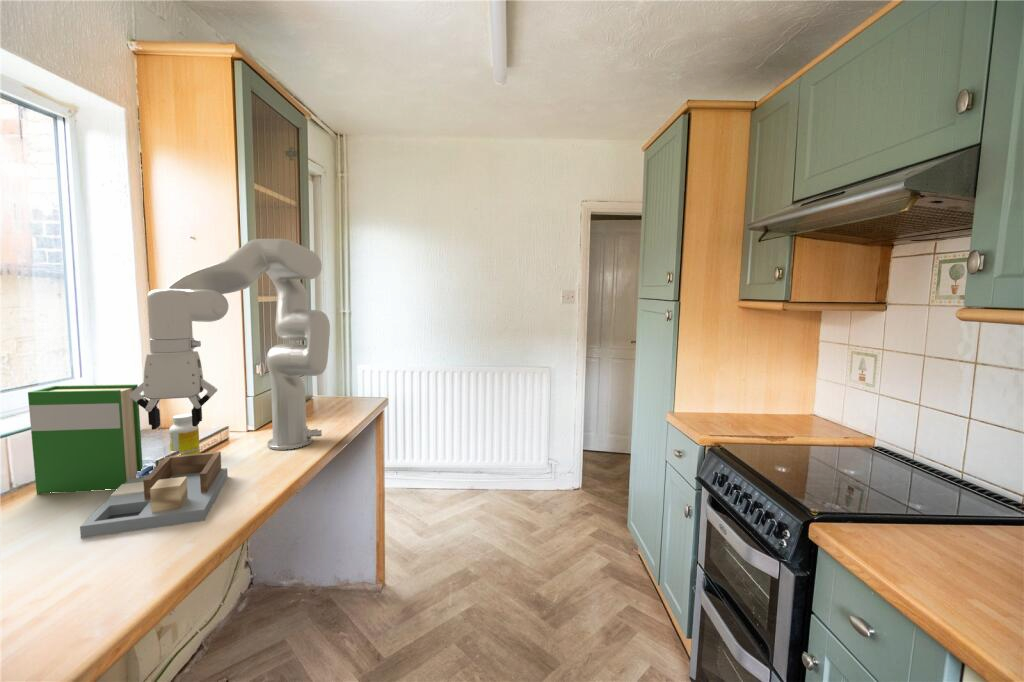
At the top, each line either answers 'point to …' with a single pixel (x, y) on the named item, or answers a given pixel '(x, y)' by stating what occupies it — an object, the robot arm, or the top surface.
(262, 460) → the top surface
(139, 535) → the top surface
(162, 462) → the brown wooden u-shaped frame
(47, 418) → the hardback book
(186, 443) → the supplement bottle
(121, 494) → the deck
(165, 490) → the block
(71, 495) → the top surface
